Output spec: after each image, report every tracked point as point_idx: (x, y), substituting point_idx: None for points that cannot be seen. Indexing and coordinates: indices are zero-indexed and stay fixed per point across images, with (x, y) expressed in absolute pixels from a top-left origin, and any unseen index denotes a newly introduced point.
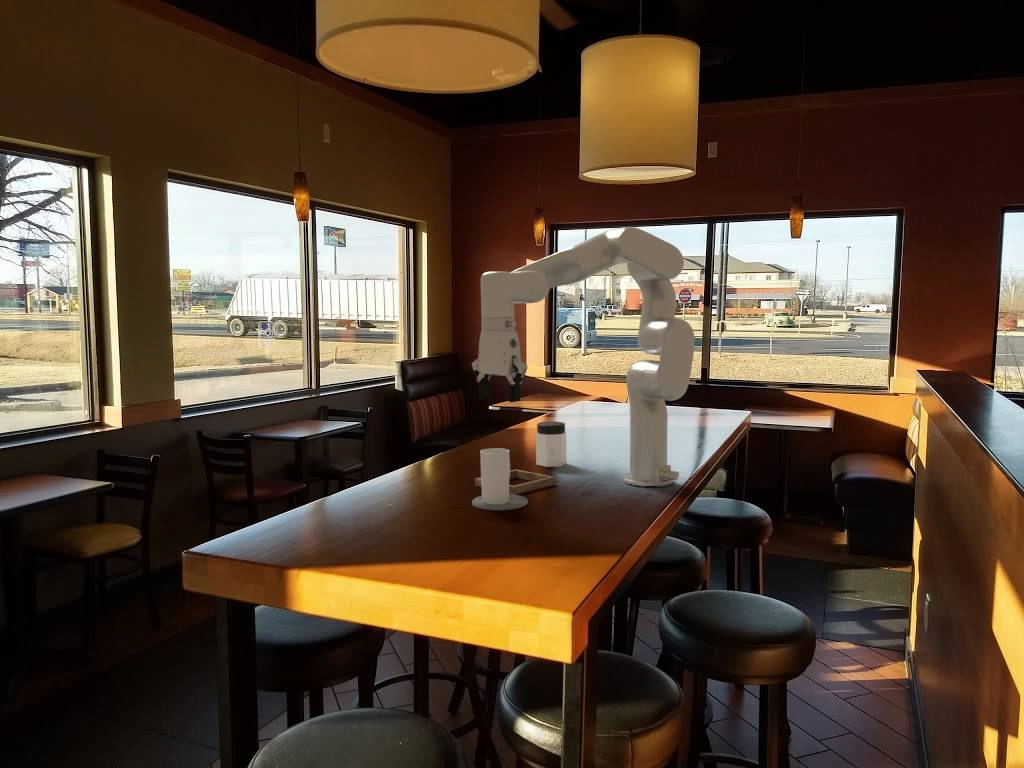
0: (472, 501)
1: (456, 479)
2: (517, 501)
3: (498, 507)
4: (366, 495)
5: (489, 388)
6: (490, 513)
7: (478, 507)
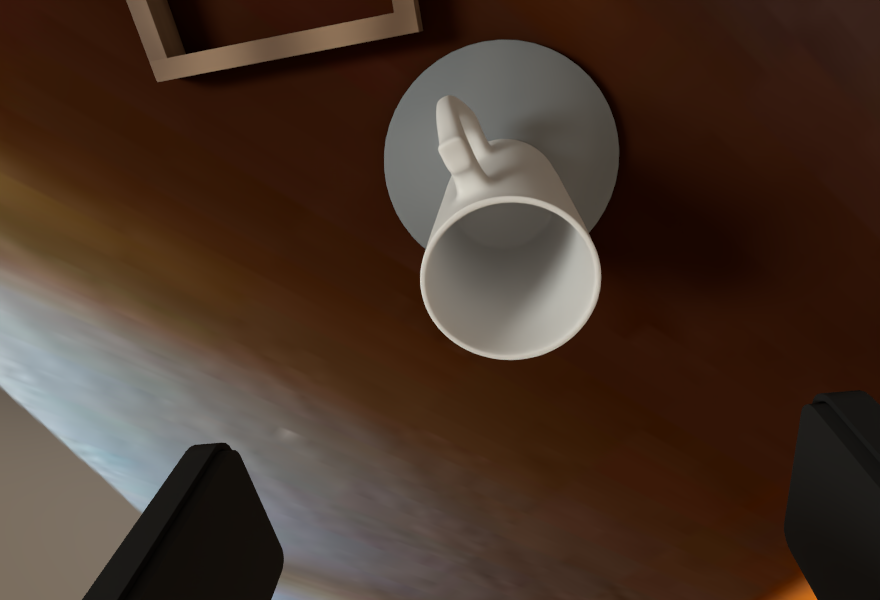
0: None
1: (7, 70)
2: (562, 117)
3: None
4: (146, 434)
5: (174, 573)
6: None
7: None
